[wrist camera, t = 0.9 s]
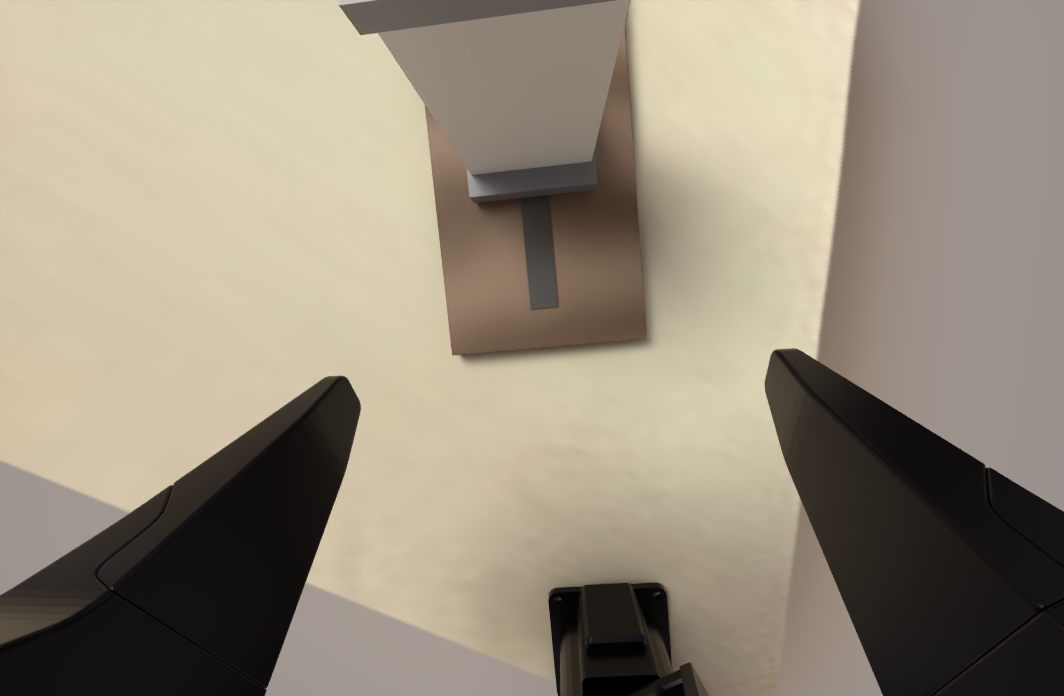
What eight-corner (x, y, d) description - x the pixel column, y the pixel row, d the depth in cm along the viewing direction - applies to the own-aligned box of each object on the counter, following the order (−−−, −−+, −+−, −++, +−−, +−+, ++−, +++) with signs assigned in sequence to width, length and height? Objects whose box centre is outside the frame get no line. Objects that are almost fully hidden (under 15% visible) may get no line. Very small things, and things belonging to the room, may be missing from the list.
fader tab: (599, 189, 22) (663, 15, 9) (470, 203, 22) (345, 57, 9) (591, 82, 21) (645, -272, 8) (459, 98, 22) (311, -215, 9)
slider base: (641, 336, 24) (659, 343, 20) (457, 352, 25) (436, 362, 20) (603, -201, 22) (615, -322, 17) (401, -167, 22) (364, -277, 18)
